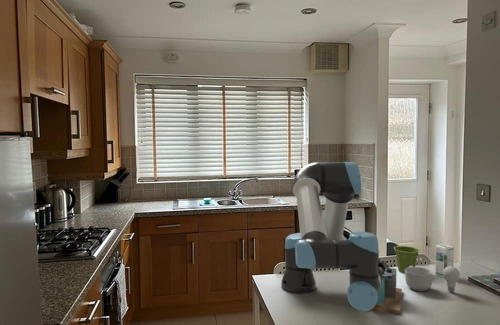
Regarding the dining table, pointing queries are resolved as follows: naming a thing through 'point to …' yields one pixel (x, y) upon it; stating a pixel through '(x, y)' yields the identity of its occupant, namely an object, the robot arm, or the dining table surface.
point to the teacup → (418, 278)
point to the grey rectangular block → (390, 285)
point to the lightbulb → (451, 277)
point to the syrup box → (443, 258)
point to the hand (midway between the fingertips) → (375, 257)
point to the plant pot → (406, 257)
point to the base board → (390, 304)
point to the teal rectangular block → (381, 292)
